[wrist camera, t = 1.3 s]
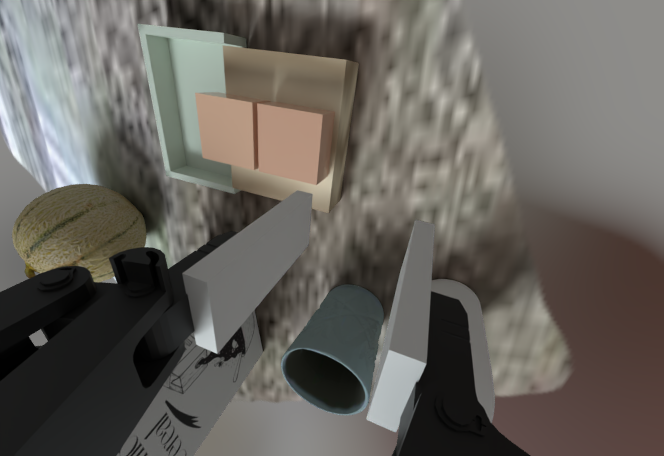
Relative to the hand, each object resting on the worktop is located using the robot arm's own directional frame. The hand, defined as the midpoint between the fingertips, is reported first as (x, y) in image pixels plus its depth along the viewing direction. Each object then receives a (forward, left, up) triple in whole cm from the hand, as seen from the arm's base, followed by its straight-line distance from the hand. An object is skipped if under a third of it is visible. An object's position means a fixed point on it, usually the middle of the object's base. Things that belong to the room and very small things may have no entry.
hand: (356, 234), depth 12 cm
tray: (0, -24, -19) cm, 30 cm away
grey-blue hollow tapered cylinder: (+23, -2, -19) cm, 30 cm away
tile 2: (0, -16, -15) cm, 22 cm away
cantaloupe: (+19, -42, -19) cm, 50 cm away
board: (0, -12, -19) cm, 22 cm away
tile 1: (0, -10, -15) cm, 17 cm away
